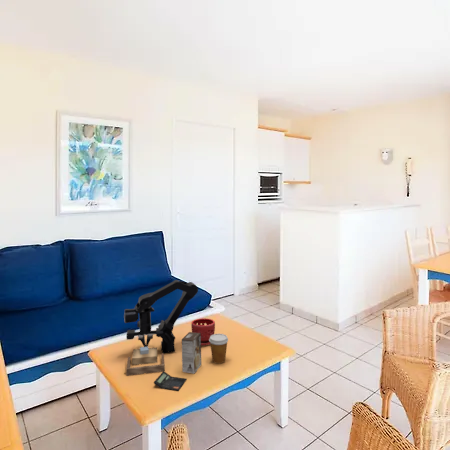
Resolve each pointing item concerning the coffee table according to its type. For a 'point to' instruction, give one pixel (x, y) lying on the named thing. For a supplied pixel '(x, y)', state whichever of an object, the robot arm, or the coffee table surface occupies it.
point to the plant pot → (204, 329)
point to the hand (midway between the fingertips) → (146, 349)
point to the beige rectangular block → (144, 357)
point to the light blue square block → (144, 350)
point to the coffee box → (191, 352)
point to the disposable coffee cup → (218, 347)
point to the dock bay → (145, 368)
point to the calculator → (169, 382)
